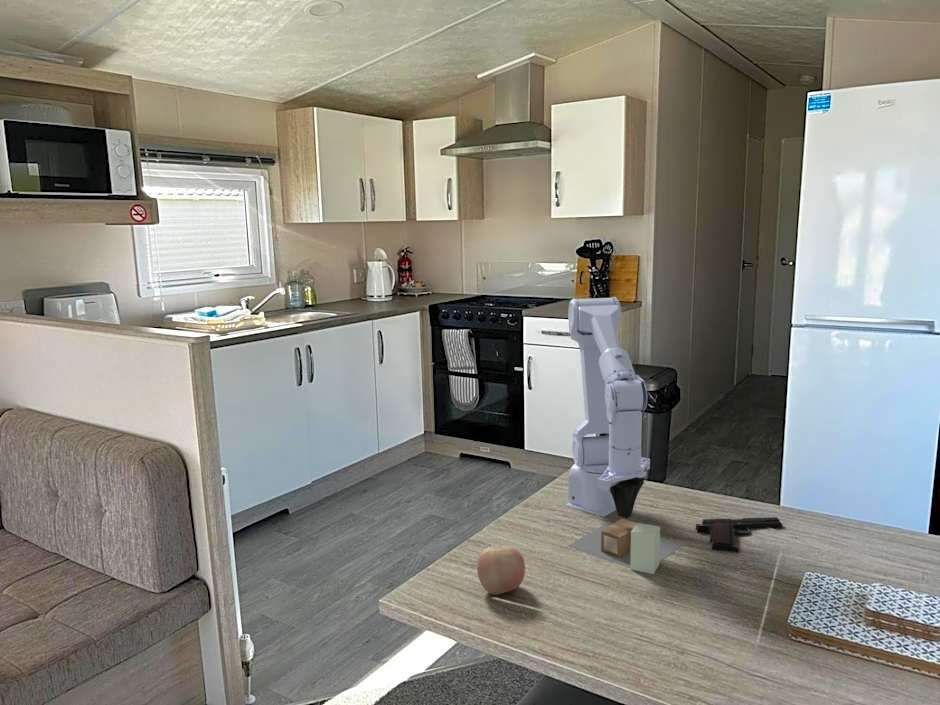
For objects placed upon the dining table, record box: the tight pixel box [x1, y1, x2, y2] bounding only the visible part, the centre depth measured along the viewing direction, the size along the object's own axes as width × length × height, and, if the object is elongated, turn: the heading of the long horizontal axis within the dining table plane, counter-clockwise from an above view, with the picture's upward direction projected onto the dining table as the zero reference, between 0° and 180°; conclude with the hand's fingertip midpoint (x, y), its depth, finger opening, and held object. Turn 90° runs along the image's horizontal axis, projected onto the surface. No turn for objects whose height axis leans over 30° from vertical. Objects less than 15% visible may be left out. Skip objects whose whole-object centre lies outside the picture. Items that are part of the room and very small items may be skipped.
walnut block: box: [601, 518, 638, 558], centre depth 132 cm, size 4×4×7 cm
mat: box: [567, 521, 684, 574], centre depth 134 cm, size 16×14×1 cm
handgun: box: [695, 516, 783, 553], centre depth 136 cm, size 2×17×12 cm
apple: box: [476, 545, 526, 596], centre depth 119 cm, size 8×8×8 cm
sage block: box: [629, 522, 661, 575], centre depth 125 cm, size 4×4×7 cm
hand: (624, 516), depth 132 cm, fingers closed
